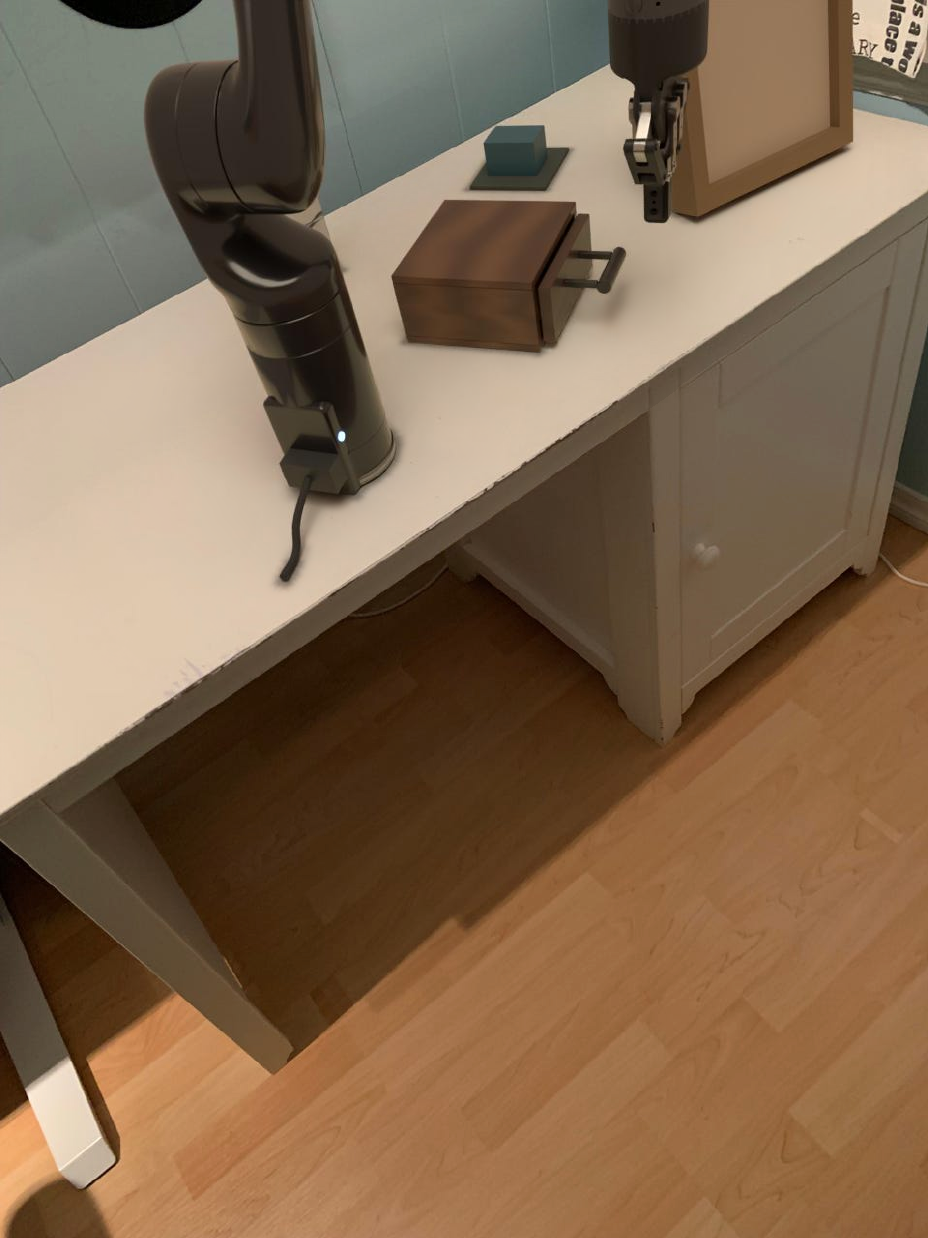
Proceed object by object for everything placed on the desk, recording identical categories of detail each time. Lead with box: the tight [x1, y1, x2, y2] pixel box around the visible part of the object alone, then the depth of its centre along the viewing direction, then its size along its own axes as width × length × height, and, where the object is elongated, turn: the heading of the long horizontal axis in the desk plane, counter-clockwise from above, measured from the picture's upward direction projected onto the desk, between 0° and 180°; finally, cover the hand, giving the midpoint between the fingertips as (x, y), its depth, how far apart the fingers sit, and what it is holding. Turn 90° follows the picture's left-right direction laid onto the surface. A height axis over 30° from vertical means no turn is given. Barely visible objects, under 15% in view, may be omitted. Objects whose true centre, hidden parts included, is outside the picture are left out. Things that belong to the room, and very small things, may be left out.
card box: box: [483, 124, 548, 176], centre depth 109 cm, size 4×6×4 cm
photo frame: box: [672, 0, 854, 218], centre depth 93 cm, size 15×22×25 cm
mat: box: [469, 147, 570, 191], centre depth 111 cm, size 10×10×1 cm
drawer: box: [535, 212, 627, 343], centre depth 89 cm, size 18×13×6 cm
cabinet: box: [390, 199, 578, 353], centre depth 90 cm, size 15×15×8 cm
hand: (657, 218), depth 79 cm, fingers closed
